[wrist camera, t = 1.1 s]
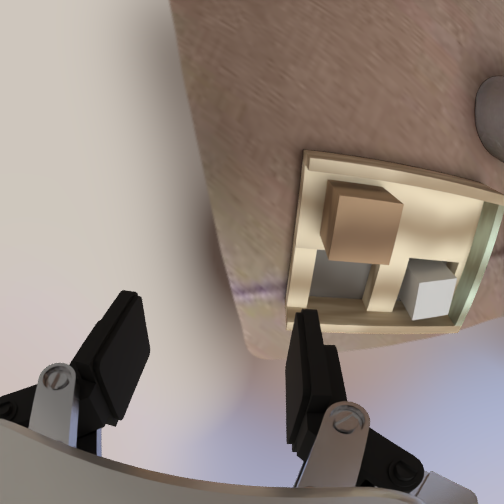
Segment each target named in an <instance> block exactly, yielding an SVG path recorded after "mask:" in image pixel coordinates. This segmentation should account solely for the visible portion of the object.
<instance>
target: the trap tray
mask: <svg viewBox="0 0 504 504" xmlns="http://www.w3.org/2000/svg"><path fill="white" fill-rule="evenodd" d="M328 179H329V180H337V181H345V182H352V183H360V184H367V185H374V186H380V187H383V188H385V189H386V190H387V191H388V192H390V193H391V194H392V195H393V196H394V197H396V198H397V199H398V200H399V201H401V202H402V203H403V204H404V206H403V211H402V215H401V220H400V224H399V228H398V232H397V237H396V241H395V245H394V248H393V252H392V256H391V260H390V263H389V265H380V264H368V263H356V262H344V261H332V260H328V257H327V254H326V251H325V248H324V245H323V243H322V240H321V237H320V228H321V222H322V215H323V209H324V202H325V195H326V188H327V180H328ZM503 213H504V194H502V193H500V192H498V191H496V190H494V189H492V188H490V187H488V186H486V185H484V184H482V183H480V182H476V181H473V180H469V179H465V178H461V177H457V176H453V175H449V174H445V173H440V172H436V171H432V170H427V169H423V168H418V167H413V166H408V165H403V164H398V163H392V162H387V161H381V160H376V159H370V158H364V157H357V156H351V155H344V154H337V153H329V152H321V151H313V150H304V151H303V161H302V170H301V179H300V188H299V197H298V205H297V214H296V222H295V230H294V238H293V246H292V253H291V261H290V268H289V275H288V282H287V289H286V296H285V313H286V330H293V324H294V319H295V314H296V312H301V310H302V309H317V311H318V316H319V321H320V327H321V332H330V333H360V334H438V333H458V332H459V330H460V328H461V326H462V324H463V322H464V319H465V317H466V315H467V313H468V311H469V309H470V306H471V304H472V302H473V299H474V297H475V295H476V292H477V290H478V287H479V285H480V282H481V280H482V277H483V275H484V272H485V269H486V267H487V264H488V261H489V258H490V255H491V252H492V250H493V246H494V243H495V240H496V237H497V234H498V231H499V227H500V224H501V220H502V217H503ZM419 259H427V260H437V261H442V262H443V263H444V264H445V265H446V266H447V267H448V268H449V269H450V271H451V272H452V273H453V274H454V275H455V276H456V277H457V281H456V285H455V289H454V294H453V298H452V301H451V305H450V309H449V313H448V315H443V316H437V317H431V318H424V319H418V320H412V319H411V317H410V316H409V314H408V312H407V310H406V308H405V306H404V305H403V303H402V301H401V299H400V298H399V292H400V287H401V284H402V281H403V278H404V275H405V271H406V268H407V265H408V261H409V260H419Z"/></svg>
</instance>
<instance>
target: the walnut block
mask: <svg viewBox="0 0 504 504" xmlns="http://www.w3.org/2000/svg"><path fill="white" fill-rule="evenodd" d="M403 206H404V204H403V203H402V202H401V201H399V200H398V199H397V198H396V197H394V196H393V195H392V194H391V193H390V192H388V191H387V190H386V189H385V188H383V187H380V186H374V185H367V184H360V183H352V182H345V181H337V180H329V179H328V180H327V188H326V195H325V202H324V209H323V215H322V222H321V228H320V237H321V240H322V243H323V245H324V248H325V251H326V254H327V257H328V260H332V261H344V262H356V263H368V264H380V265H389V263H390V260H391V256H392V252H393V248H394V245H395V241H396V237H397V232H398V228H399V224H400V220H401V215H402V211H403Z"/></svg>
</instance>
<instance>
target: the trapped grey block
mask: <svg viewBox="0 0 504 504" xmlns="http://www.w3.org/2000/svg"><path fill="white" fill-rule="evenodd" d="M456 281H457V277H456V276H455V275H454V274H453V273H452V272H451V271H450V269H449V268H448V267H447V266H446V265H445V264H444V263H443V262H442V261H437V260H427V259H419V260H409V261H408V265H407V268H406V271H405V275H404V278H403V281H402V284H401V287H400V292H399V298H400V299H401V301H402V303H403V305H404V306H405V308H406V310H407V312H408V314H409V316H410V317H411V319H412V320H418V319H424V318H431V317H437V316H443V315H448V313H449V309H450V305H451V301H452V298H453V294H454V289H455V285H456Z"/></svg>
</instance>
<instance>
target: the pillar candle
mask: <svg viewBox="0 0 504 504" xmlns="http://www.w3.org/2000/svg"><path fill="white" fill-rule="evenodd" d="M475 115H476V127H477V131H478V134H479V137H480V139H481V141H482V143H483V145H484V147H485V148H486V149H487V150H488V152H489V153H490V154H492V155H493V156H494V157H496V158H497V159H499V160H500V161H501V162H504V76H495V77H491V78H489V79H487V80H486V81H485V82H484V83H483V84H482V85H481V86H480V88H479V90H478V92H477V95H476V108H475Z"/></svg>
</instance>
